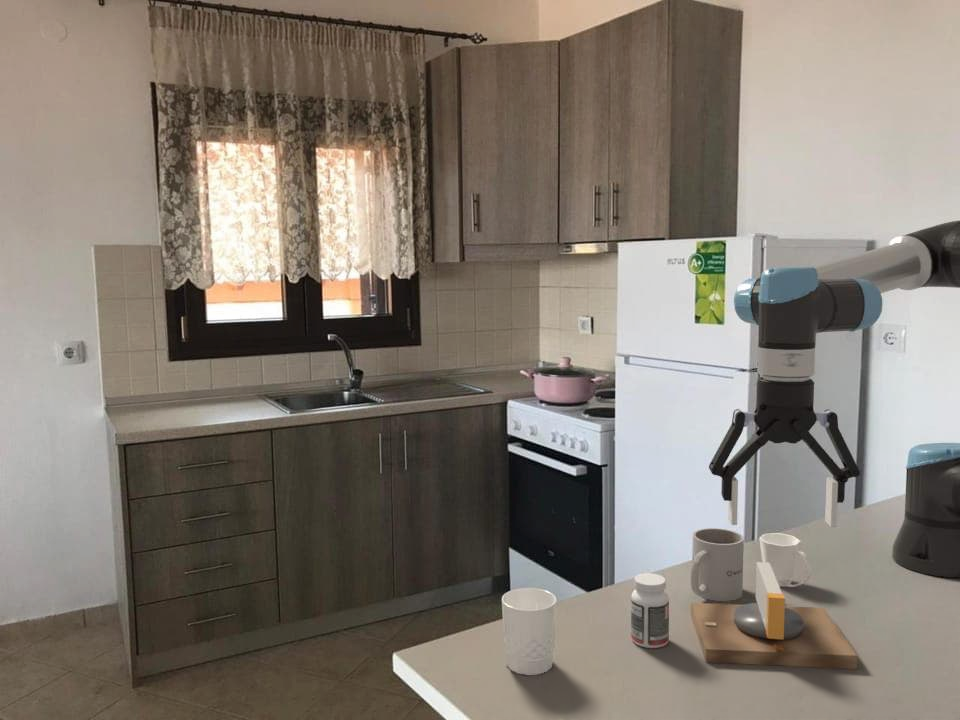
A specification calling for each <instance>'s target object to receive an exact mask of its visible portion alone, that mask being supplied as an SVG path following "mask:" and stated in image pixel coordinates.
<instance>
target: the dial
mask: <svg viewBox="0 0 960 720" xmlns="http://www.w3.org/2000/svg"><path fill="white" fill-rule="evenodd" d="M755 568H756V572H755V575H756V576H755V599H756V602H751V603H746V604H740V605H741V606H739V607H738V608H736V609H735V611H734V623H735V624H736V626H737V627H738V628H740V629H741V630H743V631H744V632H746V633H749V634H751V635H754V636H758V637H762V638H767V639H783V640H784V639H790V638H794V637H797V636H799V635H800V634H801V633H802V632H803V619H802V617H801V616H800V615H799V614H798V613H796V612H795V611H793V610H791V609H788V608H786V607H785V606H786V597H785V595H784V594H783V592H782V590H781V587H779V585H778V582H777V580H776V577H775V575H774V572H773V570H772V567H771V565H770V563H766V562H761V561H756V567H755Z"/></svg>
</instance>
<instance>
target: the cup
mask: <svg viewBox="0 0 960 720" xmlns="http://www.w3.org/2000/svg"><path fill="white" fill-rule="evenodd" d="M758 540H759V544H760V545H759V547H760V551H761V552H760V553H761V561H762V562H766V563H770V565H771V567H772V570H773V572H774V575H775V577H776V580H777V582H778V585H779V587H780V588H782V587H788V588H794V587H799V586H801V585H804V584H805V583H807V582H809V580H810V578H811V575H812V568H811V561H810V559H809V557H808V556H807V554H806V552H803V551H801V550H800V546H801V542H802V540H800V539H798V537H796V536H794V535H792V534H791V535H790V534H786V533H781V532H772V533H771V532H769V533H764V534H762V535H761V536H760V537H759V539H758ZM799 555H800V557H802V559H803V561H804V562H805V568H806V574H805V578H804V579H803V580H802V581H801V582H798V583H796V584H792V580H791V579H792V578H793V576H794V572H795V569H796V567H797V561H798V558H799V557H798V556H799Z"/></svg>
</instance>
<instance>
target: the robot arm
mask: <svg viewBox="0 0 960 720" xmlns="http://www.w3.org/2000/svg"><path fill="white" fill-rule="evenodd" d="M920 288H956V289H957V288H958V289H960V220H954V221H953V220H952V221H948V222H943V223H941V224H936V225H933V226H930V227H926V228H923V229H920V230H916V231H913V232H910V233H907V234H903V235H900V236H897V237H896V236H895V238H892V239H891V240H889V242H888V243H886V245H885V246H882V247H878V248H875V249H871V250H867V251H864V252H861V253H857V254H854V255H853V254H852V255H850V256H845V257H843V258H838V259H835V260H832V261H831V260H830V261H829V262H827V261H826V262H825V263H820V264H817V265H814V266H793V267H791V266H790V267H788V266H786V267H785V266H784V267H782V266H781V267H768V268H766V269H764V270H763V271H762V273H761V276H759V277H755V278H747V279H745V280H743V281H742V282H741V283H739V285H738V286H737V288H736V290H735V293H734V296H733V306H734V311H735V313H736V315H737V317H738V318H739V319H740V320H741V321H743V322H744V323H747V324H754V325H756V326H758V346H757V347H758V349H757V373H758V375H759V376H761V377H759V378H758V379H757V381H756V408H755V410H754V412H749V411H742V410H741V409H740V408H738V409H737V408H736V409H734V410H733V412H732V418H731V419H732V420H731V424H730V426H729V428H728V430H727V432H726V434H725V435H724V437H723V439H722V441H721V443H720V444H719V446H718V448H717V450H716V452H715V454H714V455H713V458H712V459H711V462H710V463H709V465H708V469H709V471H710V473H711V474H712V475H713V476H718V477H720V478H721V491H720V492H721V493H720V494H721V497H722V499H723V501H725V502H728V509H727V510H728V514H727V516H728V517H727V519H728V521H729V523H730V525H731V526H737V525H738V506H739V505H738V502H739V499H738V498H739V497H738V495H739V480H738V478H737V477H736V475H737V473H739V471H740V470H741V469H742V468H743V467H744V466H745V465H746V464H747V463H748V462H749V461H750V460H751V459H752V457H753V456H755V454H756V453H757V452H758V451H759V450H760V449H761V448H762V447H764V446H765V445H766V444H767V443H768V442H769V441H770V442H772V443H773V444H783V443H789V444H798V443H799V442H801V441H802V442H803V443H805V444H806V446H807V447H808V449H810V450H811V452H812V453H813V454H814V456H816V457H817V459H818V460H819V461H820V462H821V463H822V464H823V465H824V467H825V468H826V469H827V470H828V471H829V472H830V474H831V475H832V476H827V477H826V479H825V480H826V483H825V484H826V486H825V509H824V510H825V513H824V521H825V522H826V523H827V525H829V527H831V528H837V521H838V518H837V517H838V516H837V515H838V504H839V503H841V504H842V503H844V501H845V495H846V493H845V492H846V491H845V489H846V483H847V482H849V479H851V478H858V477H859V476H860V475H861V471H860V469H859V467H858V465H857V463H856V461H855V459H854V457H853V455H852V453H851V451H850V449H849V447H848V445H847V443H846V441H845V439H844V437H843V435H842V432H841V431H840V428H839V418H838V414H837V413H836V412H834V411H832V410H831V409H825V410H824V411H821V412H815V410H814V405H815V404H814V398H815V397H814V396H815V382H814V380H813V378H811V377H813V376H814V375H815V366H816V361H815V360H816V346H817V345H816V343H817V342H816V341H817V339H816V338H817V334H819V333H831V332H836V333H837V332H851V333H852V332H855V331H858V330H863V329H868V328H870V327H871V326H873V325H874V324H876V322H877V321H878V319H879V318H880V316H881V314H882V311H883V297H882V294H884V293H887V292H890V291H893V290H896V289H897V290H898V289H900V290H905V291H913V290H916V289H920ZM751 422H754V423H755V425H756V426H757V429H756V430H755V431H754V432H753V434H752V435H751V437H750V438H749V439H748V441H746V442H745V444H744V445H743V446H741V448H740V449H739V450H738V451H737V452H736V453H735V455H733V457H732V458H731V459H730V460H729V461H728V458H729V457H730V455H731V453H732V452H733V450H734V447H735V446H736V444H737V442H738V441H739V438H740V437H741V435H742V433H743V431H744V428H747V427H748V426H749V424H750V423H751ZM817 422H818V423H819V425H820V426H821V427H823V428H825V431H826V433H827V435H828V438H829V439H830V442H831V443H832V446H833V448H834V450H835V452H836V454H837V456H838V457H839V460H840V461H841V463H842V466H843V467H840V466H839V465H838V464H837V463H836V462H835V461H834V460H833V458H832V457H831V456H830V455H829V454H828V453H827V452H826V450H825V448H824V447H823V446H821V444H820V443H819V441H817V439H816V438H815V437H814V436H813V434H812V433H810V431H811V429H812V427H813V426H815V424H816V423H817ZM727 461H728V462H727ZM726 462H727V463H726ZM906 463H907V464H906V466H905V470H906V474H905V475H906V477H905V478H906V479H905V500H904V501H905V502H904V519H903V522H902V524H901V527H900V528H899V531H898V533H897V535H896V537H895V539H894V542H893V545H892V553H891V554H892V556H891V557H892V559H893V560H894V562H895V563H897V564H898V565H899V566H902V567H903V568H906V569H908V570H910V571H915V572H917V573H922V574H925V575H929V574H930V575H931V576H934V575H935V577H941V576H943V578H952V577H960V442H933V443H932V442H930V443H922V444H917V445H914V446H913V447H911V448H910V449H909V451H908V455H907V462H906ZM930 575H929V576H930Z"/></svg>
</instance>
